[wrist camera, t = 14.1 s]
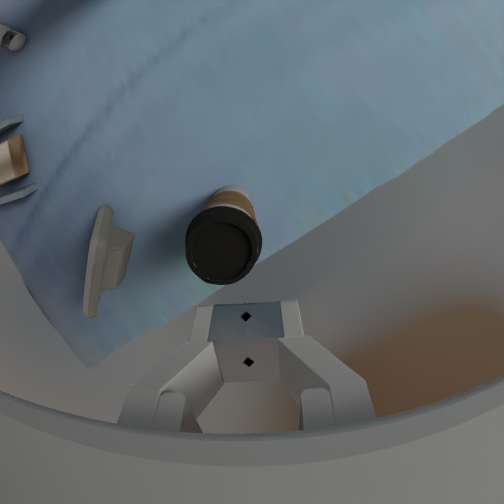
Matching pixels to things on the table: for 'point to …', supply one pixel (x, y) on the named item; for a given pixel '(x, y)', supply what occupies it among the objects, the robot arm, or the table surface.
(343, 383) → the robot arm
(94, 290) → the digital clock
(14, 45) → the torpedo
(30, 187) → the bay
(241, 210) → the coffee cup
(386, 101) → the table surface
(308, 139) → the table surface
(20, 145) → the tan block
